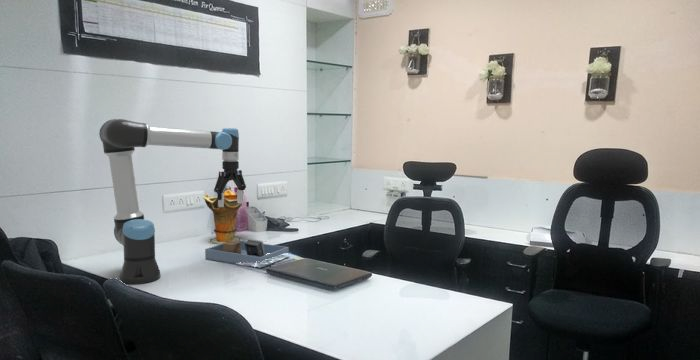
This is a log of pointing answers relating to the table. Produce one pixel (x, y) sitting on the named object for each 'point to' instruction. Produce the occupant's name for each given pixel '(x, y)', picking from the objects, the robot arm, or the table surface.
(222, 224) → the decorative vase
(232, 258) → the tray
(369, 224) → the table surface
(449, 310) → the table surface
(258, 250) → the electrical switch
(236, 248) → the walnut cube
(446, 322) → the table surface
